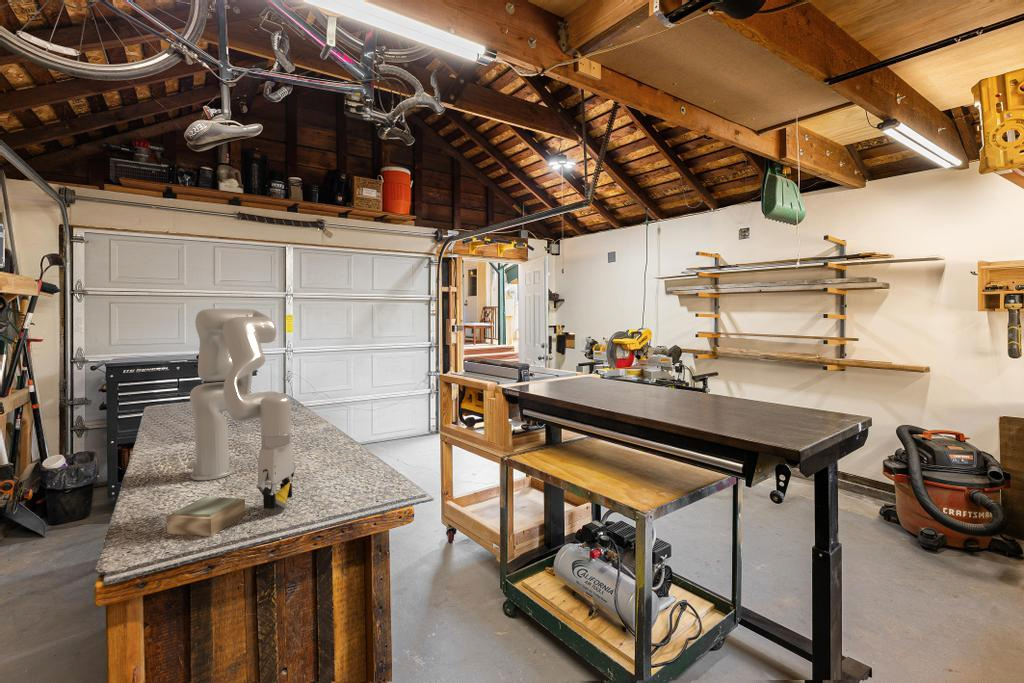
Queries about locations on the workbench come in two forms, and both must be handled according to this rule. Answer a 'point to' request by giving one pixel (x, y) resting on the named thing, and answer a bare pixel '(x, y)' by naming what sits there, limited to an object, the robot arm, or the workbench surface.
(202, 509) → the base block
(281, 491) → the drill bit
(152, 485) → the workbench surface
